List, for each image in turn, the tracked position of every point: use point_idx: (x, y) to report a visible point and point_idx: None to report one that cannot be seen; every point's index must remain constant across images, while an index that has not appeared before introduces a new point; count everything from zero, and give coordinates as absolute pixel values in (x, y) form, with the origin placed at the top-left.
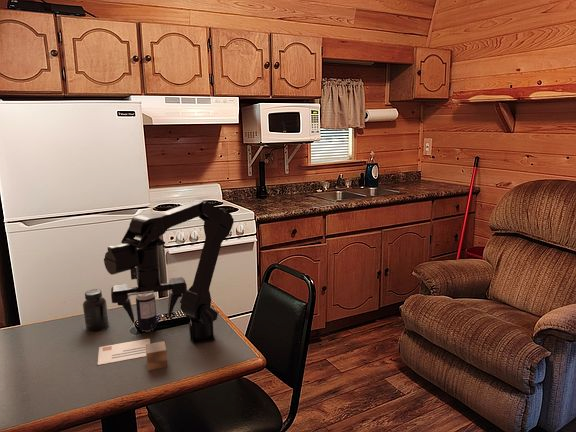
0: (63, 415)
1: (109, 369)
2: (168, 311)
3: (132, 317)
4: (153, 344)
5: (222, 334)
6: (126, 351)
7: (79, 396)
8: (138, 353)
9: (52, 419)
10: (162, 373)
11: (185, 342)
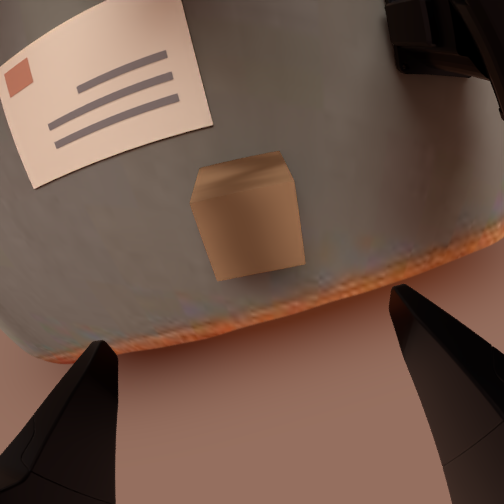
0: None
1: (80, 214)
2: (411, 344)
3: (110, 415)
4: (235, 207)
5: None
6: (91, 91)
7: (79, 317)
8: (147, 109)
9: None
10: None
11: (363, 40)
